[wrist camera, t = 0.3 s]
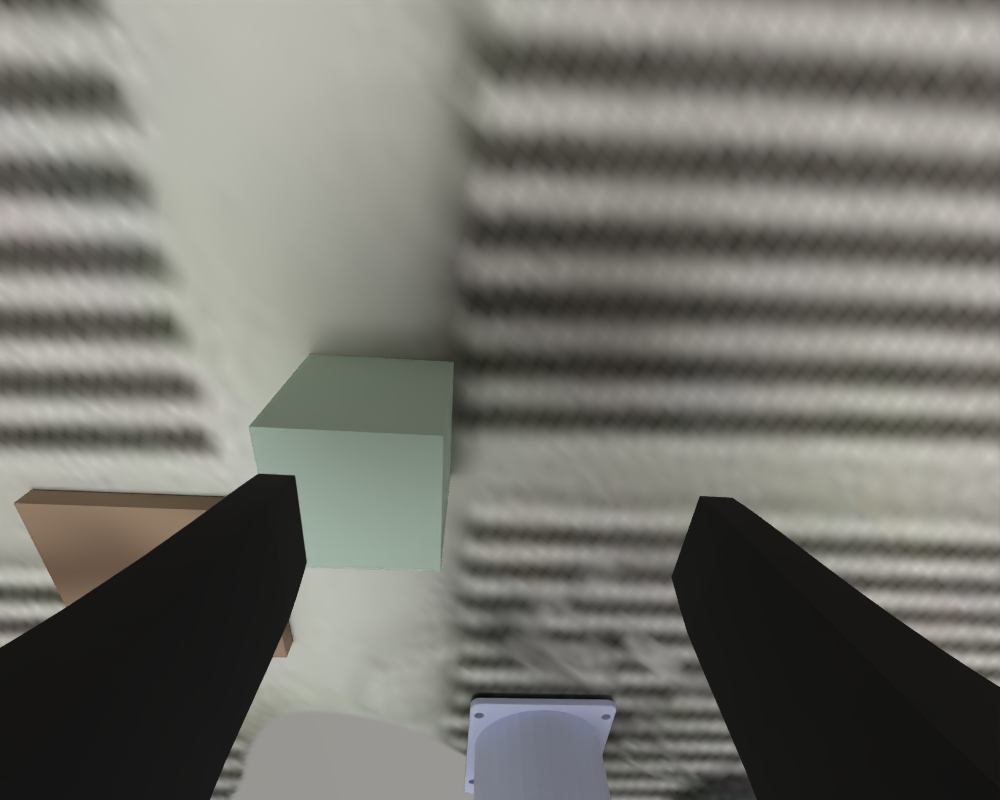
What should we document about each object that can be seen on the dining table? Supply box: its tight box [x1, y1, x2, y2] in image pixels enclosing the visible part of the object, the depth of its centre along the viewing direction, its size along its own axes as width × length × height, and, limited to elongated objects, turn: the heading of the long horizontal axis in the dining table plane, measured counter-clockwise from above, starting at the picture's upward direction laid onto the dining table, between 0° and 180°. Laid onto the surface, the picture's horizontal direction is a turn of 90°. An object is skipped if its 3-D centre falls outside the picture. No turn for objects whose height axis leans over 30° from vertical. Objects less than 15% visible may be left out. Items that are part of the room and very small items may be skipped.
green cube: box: [249, 354, 454, 571], centre depth 16 cm, size 5×5×5 cm
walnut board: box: [14, 490, 292, 657], centre depth 21 cm, size 9×9×1 cm
